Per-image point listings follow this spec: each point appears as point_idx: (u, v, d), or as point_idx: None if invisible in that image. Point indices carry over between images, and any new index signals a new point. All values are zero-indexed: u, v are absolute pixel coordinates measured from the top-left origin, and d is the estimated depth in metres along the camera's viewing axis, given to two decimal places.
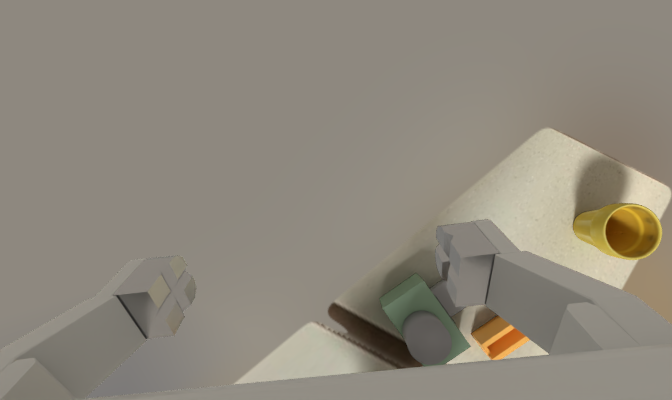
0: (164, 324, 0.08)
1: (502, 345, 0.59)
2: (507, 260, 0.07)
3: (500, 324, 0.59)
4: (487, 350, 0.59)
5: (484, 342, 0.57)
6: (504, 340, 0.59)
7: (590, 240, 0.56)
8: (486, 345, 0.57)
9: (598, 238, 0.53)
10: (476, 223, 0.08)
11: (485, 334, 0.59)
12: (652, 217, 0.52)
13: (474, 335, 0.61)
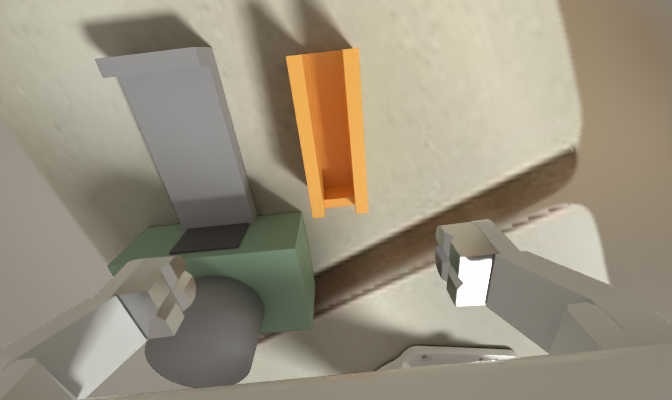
0: (164, 324, 0.08)
1: (351, 166, 0.23)
2: (507, 259, 0.07)
3: None
4: (344, 201, 0.24)
5: (312, 209, 0.23)
6: None
7: None
8: (319, 209, 0.23)
9: None
10: (476, 223, 0.08)
11: None
12: None
13: None
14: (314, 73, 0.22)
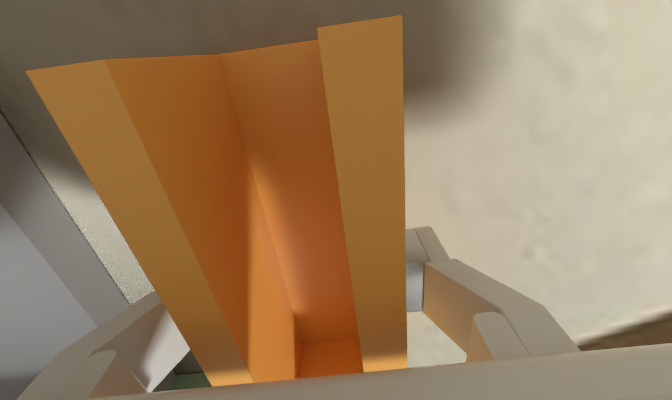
0: None
1: None
2: (434, 267, 0.07)
3: None
4: None
5: None
6: None
7: None
8: None
9: None
10: (417, 230, 0.08)
11: None
12: None
13: None
14: (250, 110, 0.08)
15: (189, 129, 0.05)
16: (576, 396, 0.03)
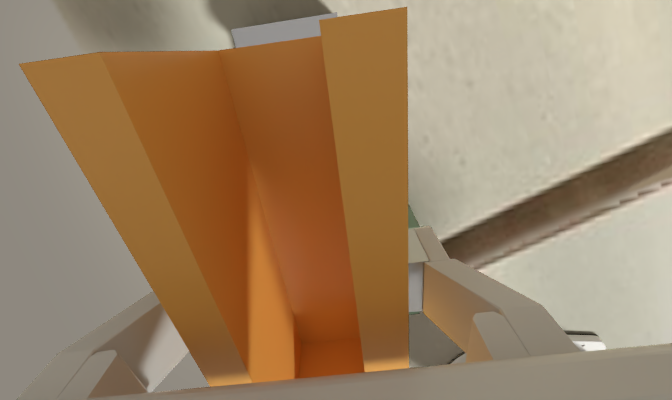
0: None
1: None
2: (434, 267, 0.07)
3: None
4: None
5: None
6: None
7: None
8: None
9: None
10: (416, 230, 0.08)
11: None
12: None
13: None
14: (250, 107, 0.07)
15: (188, 126, 0.05)
16: (576, 396, 0.03)
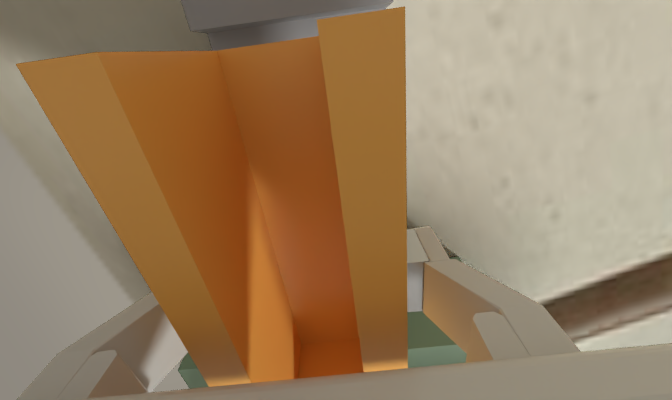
0: None
1: None
2: (434, 268, 0.07)
3: None
4: None
5: None
6: None
7: None
8: None
9: None
10: (416, 230, 0.08)
11: None
12: None
13: None
14: (249, 107, 0.07)
15: (186, 126, 0.05)
16: (576, 396, 0.03)
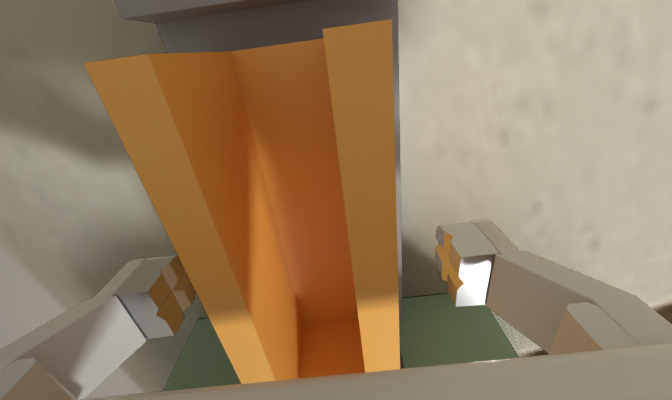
0: (164, 324, 0.08)
1: None
2: (507, 259, 0.07)
3: None
4: None
5: None
6: None
7: None
8: None
9: None
10: (476, 223, 0.08)
11: None
12: None
13: None
14: (259, 102, 0.08)
15: (209, 116, 0.06)
16: (576, 396, 0.03)
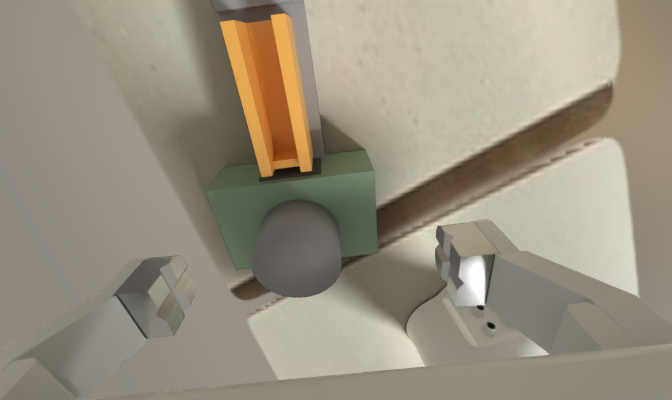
0: (164, 324, 0.08)
1: None
2: (507, 259, 0.07)
3: None
4: (291, 162, 0.27)
5: (260, 168, 0.25)
6: None
7: None
8: (267, 168, 0.25)
9: None
10: (476, 223, 0.08)
11: None
12: None
13: None
14: (256, 41, 0.24)
15: (243, 39, 0.21)
16: (576, 396, 0.03)
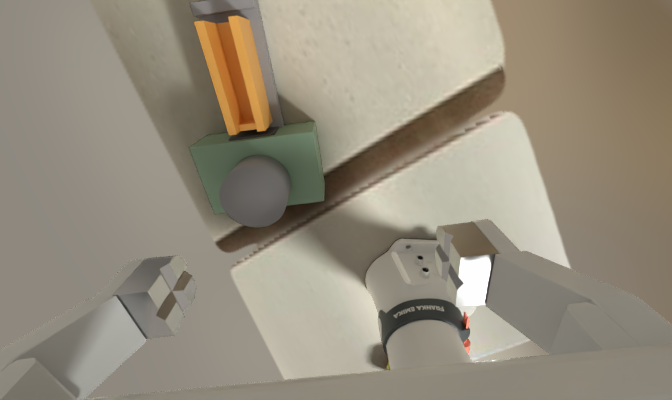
0: (164, 324, 0.08)
1: None
2: (507, 259, 0.07)
3: None
4: (252, 125, 0.36)
5: (227, 128, 0.35)
6: None
7: None
8: (232, 128, 0.34)
9: None
10: (476, 223, 0.08)
11: None
12: None
13: None
14: (224, 36, 0.33)
15: (211, 34, 0.31)
16: (576, 396, 0.03)
